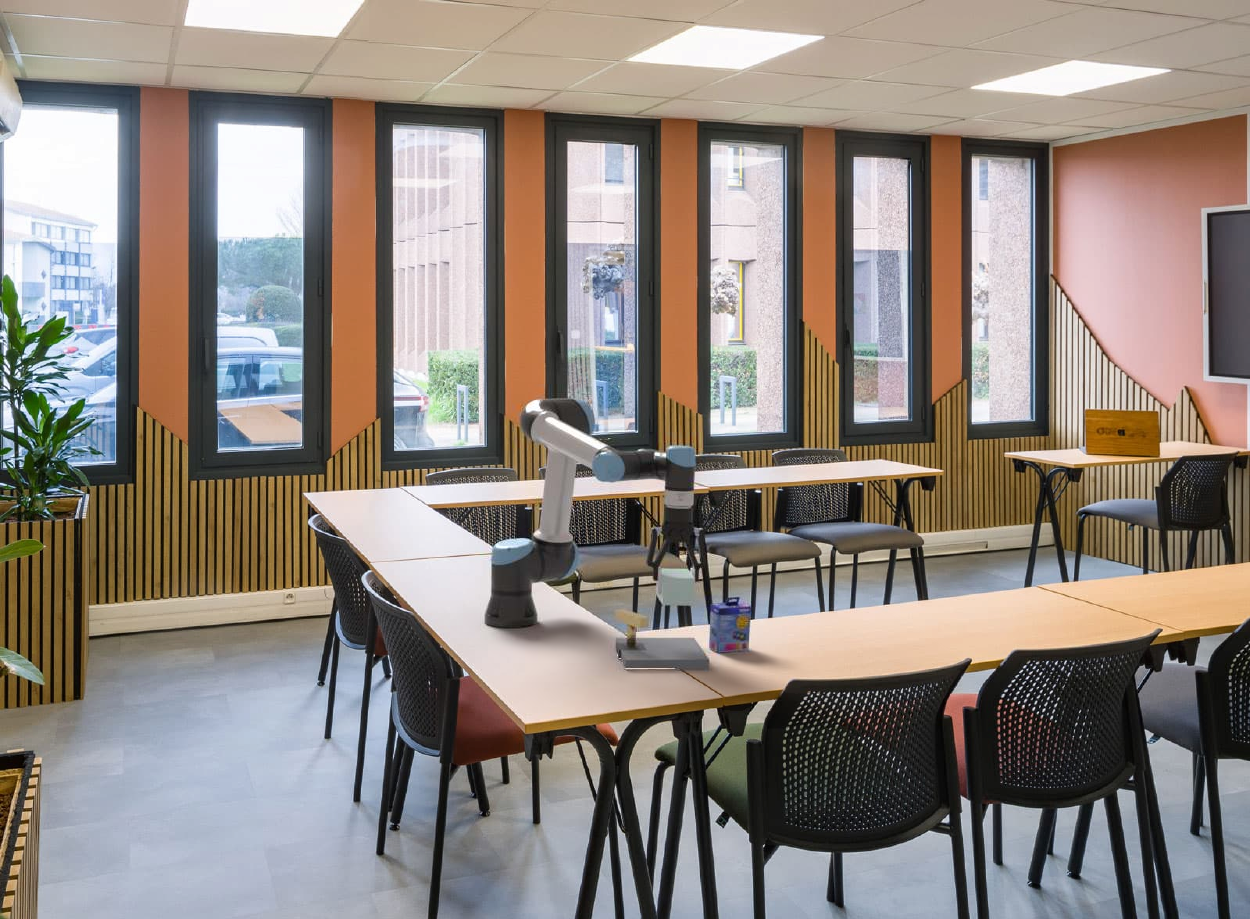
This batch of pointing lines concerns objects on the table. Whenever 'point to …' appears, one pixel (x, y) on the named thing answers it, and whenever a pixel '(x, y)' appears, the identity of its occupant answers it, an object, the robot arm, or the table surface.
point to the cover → (677, 587)
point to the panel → (662, 653)
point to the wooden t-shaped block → (631, 623)
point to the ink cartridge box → (729, 626)
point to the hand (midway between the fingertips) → (675, 593)
